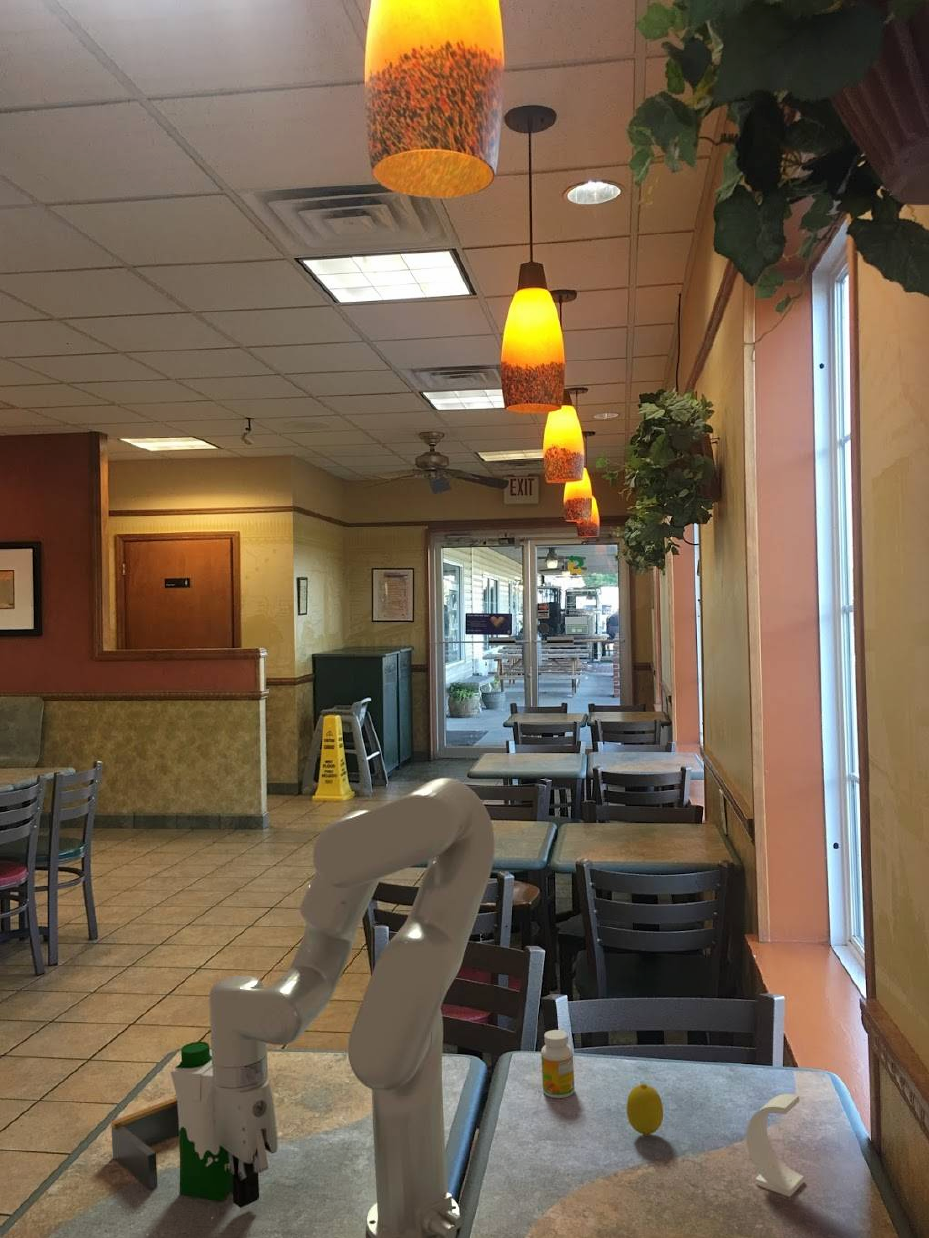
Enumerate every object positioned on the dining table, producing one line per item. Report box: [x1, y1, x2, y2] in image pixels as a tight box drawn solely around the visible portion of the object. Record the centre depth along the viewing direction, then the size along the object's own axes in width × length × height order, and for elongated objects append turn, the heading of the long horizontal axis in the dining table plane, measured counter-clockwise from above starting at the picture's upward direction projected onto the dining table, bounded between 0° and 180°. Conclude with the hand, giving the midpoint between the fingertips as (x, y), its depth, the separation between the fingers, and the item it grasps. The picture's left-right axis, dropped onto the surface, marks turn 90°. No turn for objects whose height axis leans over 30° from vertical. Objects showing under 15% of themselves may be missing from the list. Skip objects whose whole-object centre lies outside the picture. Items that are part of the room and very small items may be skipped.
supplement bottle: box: [540, 1029, 575, 1099], centre depth 169 cm, size 5×5×10 cm
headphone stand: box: [745, 1093, 805, 1198], centre depth 138 cm, size 5×6×12 cm
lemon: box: [626, 1083, 664, 1138], centre depth 152 cm, size 6×6×8 cm
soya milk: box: [170, 1041, 235, 1202], centre depth 145 cm, size 9×9×20 cm
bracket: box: [110, 1096, 179, 1191], centre depth 154 cm, size 13×14×6 cm
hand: (246, 1201), depth 138 cm, fingers closed
